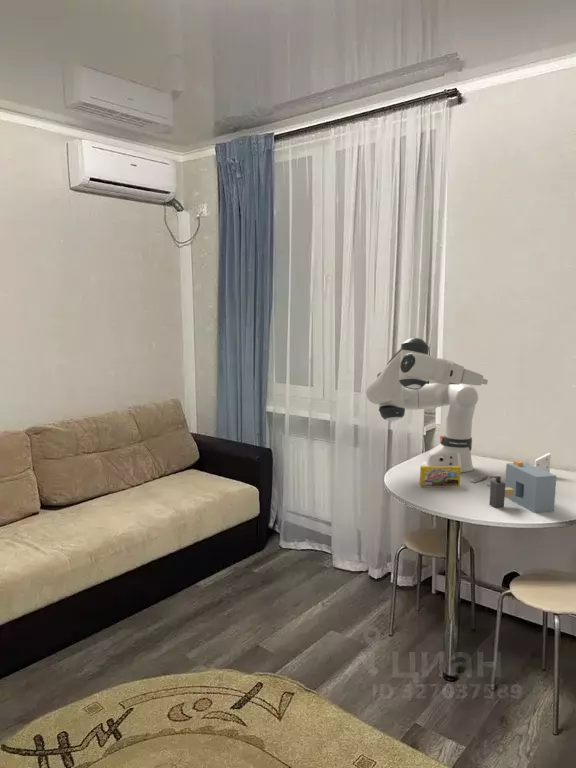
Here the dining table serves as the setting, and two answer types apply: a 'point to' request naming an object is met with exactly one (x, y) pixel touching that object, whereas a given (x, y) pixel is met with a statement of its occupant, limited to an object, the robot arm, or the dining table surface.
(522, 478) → the socket
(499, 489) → the plug
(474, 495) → the dining table surface
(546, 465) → the white wedge bracket
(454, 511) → the dining table surface
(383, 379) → the robot arm
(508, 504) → the dining table surface
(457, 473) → the candy box
